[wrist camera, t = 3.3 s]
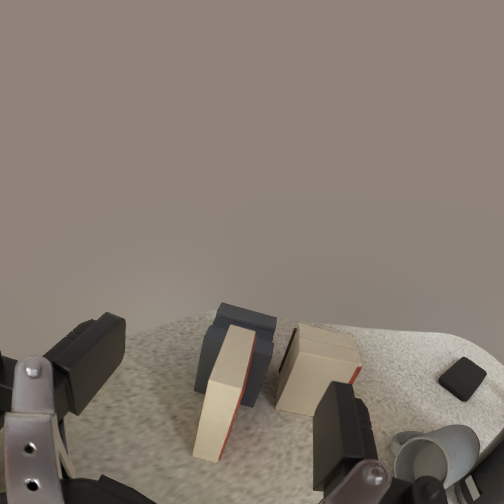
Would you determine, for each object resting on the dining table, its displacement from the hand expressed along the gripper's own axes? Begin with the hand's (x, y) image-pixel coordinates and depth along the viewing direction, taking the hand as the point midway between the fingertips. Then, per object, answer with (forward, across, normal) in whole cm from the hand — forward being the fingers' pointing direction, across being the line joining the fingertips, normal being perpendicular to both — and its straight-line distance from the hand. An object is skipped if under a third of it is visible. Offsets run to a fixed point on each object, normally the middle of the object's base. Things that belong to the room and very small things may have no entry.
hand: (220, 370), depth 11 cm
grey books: (+20, 0, +18) cm, 27 cm away
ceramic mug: (+9, -24, +18) cm, 31 cm away
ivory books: (+21, -10, +18) cm, 29 cm away
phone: (+30, -43, +18) cm, 55 cm away
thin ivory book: (+11, 0, +18) cm, 22 cm away
